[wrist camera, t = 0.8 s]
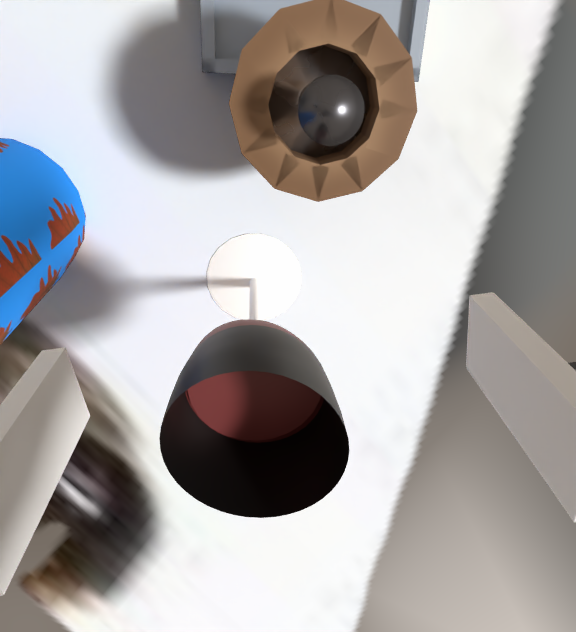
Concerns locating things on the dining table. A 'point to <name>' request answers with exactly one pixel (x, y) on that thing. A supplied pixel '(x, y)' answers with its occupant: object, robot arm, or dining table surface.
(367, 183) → the ring
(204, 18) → the tray
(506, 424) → the robot arm
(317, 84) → the metal peg stand
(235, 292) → the wineglass
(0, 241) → the thermos
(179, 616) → the dining table surface
